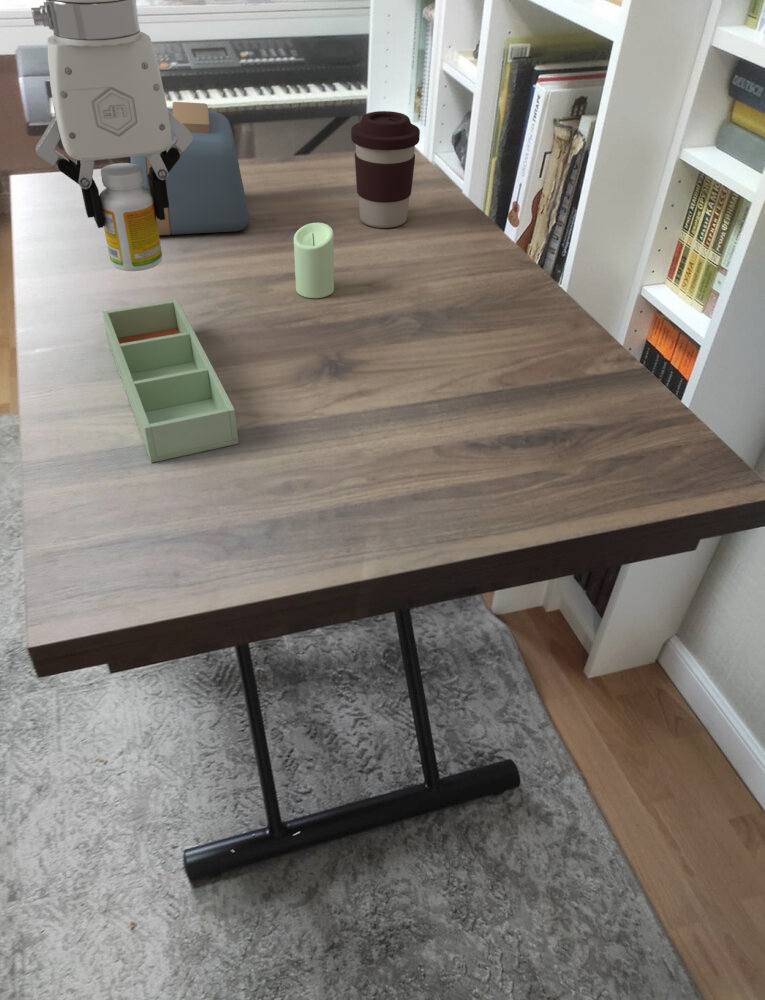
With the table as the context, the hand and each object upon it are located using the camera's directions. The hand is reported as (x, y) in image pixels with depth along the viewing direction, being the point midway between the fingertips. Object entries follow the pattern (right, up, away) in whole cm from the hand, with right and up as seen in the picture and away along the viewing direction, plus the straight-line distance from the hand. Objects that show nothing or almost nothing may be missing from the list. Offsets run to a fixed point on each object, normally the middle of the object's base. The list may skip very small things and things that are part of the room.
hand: (129, 217), depth 86 cm
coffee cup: (+26, +14, +43) cm, 52 cm away
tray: (+3, -17, +5) cm, 18 cm away
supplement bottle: (0, -4, +3) cm, 5 cm away
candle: (+17, -2, +24) cm, 30 cm away
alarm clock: (-3, +14, +42) cm, 44 cm away
